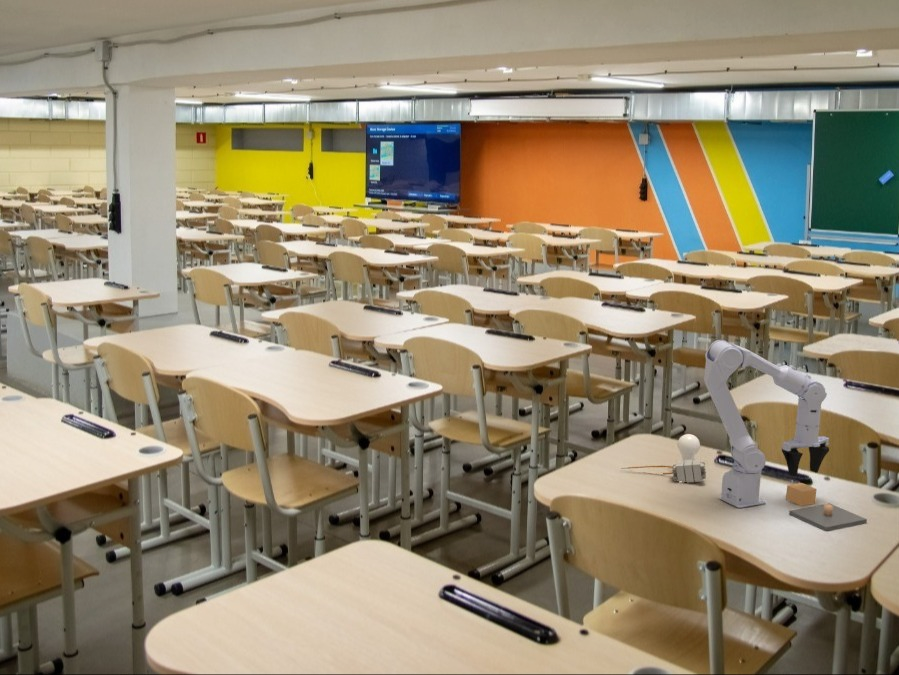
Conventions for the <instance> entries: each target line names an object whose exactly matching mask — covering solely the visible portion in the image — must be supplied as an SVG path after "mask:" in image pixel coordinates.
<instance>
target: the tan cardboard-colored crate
mask: <svg viewBox="0 0 899 675" xmlns="http://www.w3.org/2000/svg"><path fill="white" fill-rule="evenodd" d="M816 496H817V488H815V487H813V486H810V485H808V484H805V483H803V482H799V483H793V484H787V485H786V495H785V500H787V501H789V502H791V503H793V504H795V505H797V506H800V507H802V506H807V505H814V504H816V499H817V498H816Z"/></svg>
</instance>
